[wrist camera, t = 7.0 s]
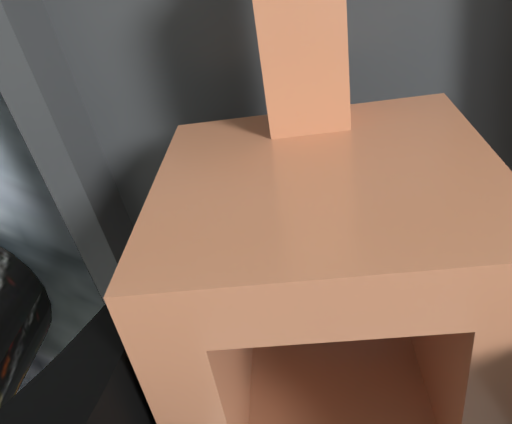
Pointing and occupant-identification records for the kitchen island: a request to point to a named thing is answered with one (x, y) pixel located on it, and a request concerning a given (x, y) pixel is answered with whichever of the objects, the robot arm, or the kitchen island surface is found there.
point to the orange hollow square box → (322, 254)
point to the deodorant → (19, 322)
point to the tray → (211, 87)
